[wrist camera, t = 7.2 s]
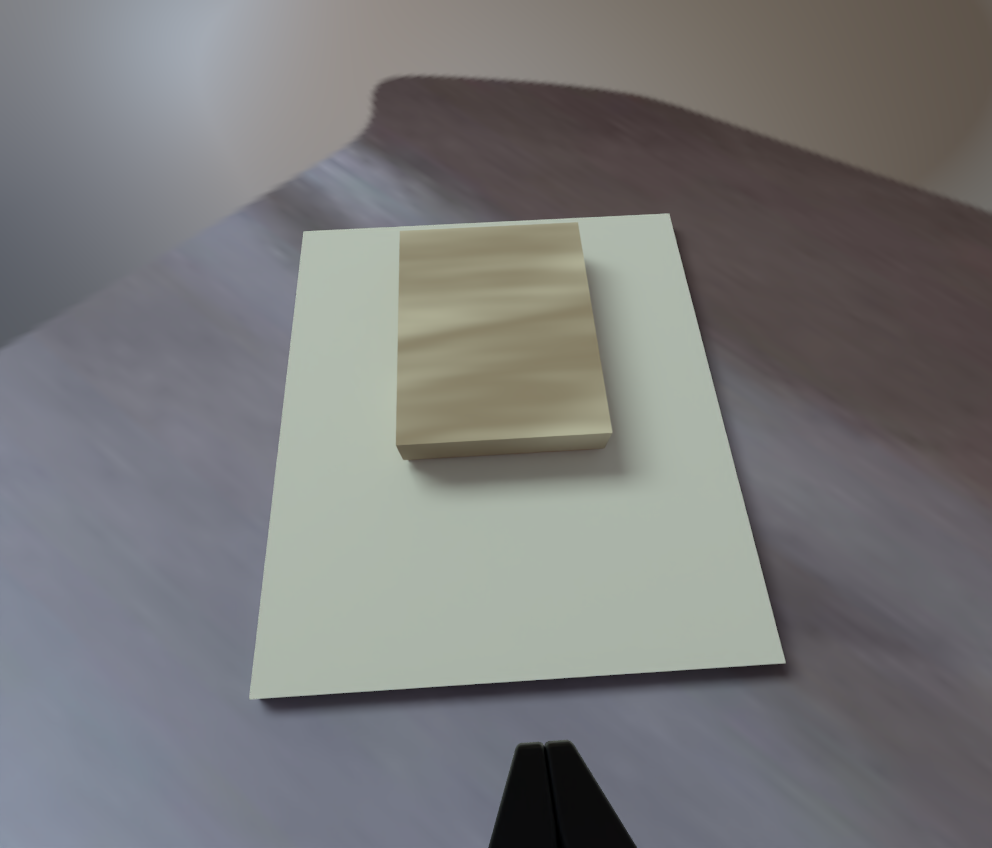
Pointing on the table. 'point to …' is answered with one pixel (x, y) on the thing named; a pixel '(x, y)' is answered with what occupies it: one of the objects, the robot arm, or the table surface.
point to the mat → (503, 500)
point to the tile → (497, 344)
